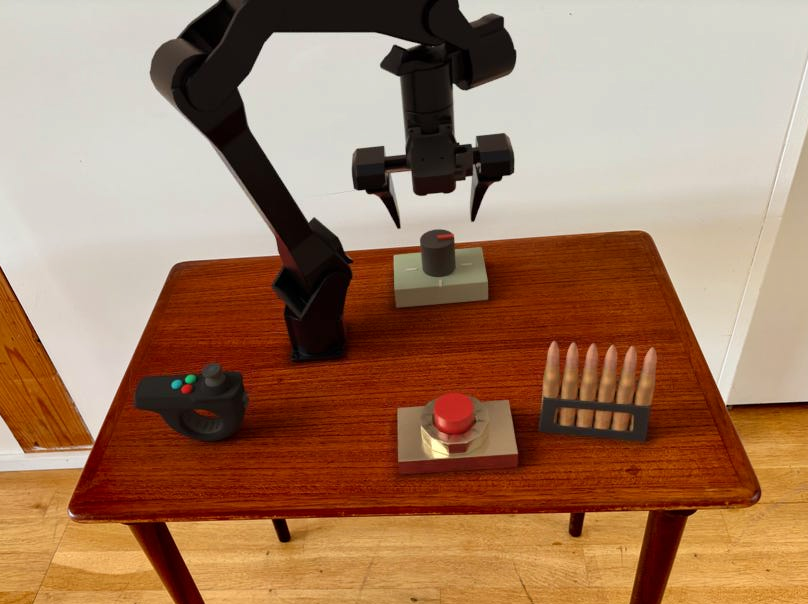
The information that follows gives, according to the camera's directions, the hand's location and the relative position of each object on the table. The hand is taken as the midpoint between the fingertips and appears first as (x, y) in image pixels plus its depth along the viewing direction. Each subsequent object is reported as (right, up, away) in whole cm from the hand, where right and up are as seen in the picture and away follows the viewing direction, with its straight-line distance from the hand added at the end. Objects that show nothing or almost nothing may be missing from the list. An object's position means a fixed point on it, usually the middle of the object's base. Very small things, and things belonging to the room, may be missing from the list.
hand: (435, 223), depth 89 cm
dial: (+1, -5, +5) cm, 7 cm away
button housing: (+1, -26, -14) cm, 30 cm away
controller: (-27, -26, -8) cm, 38 cm away
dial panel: (+1, -7, +7) cm, 10 cm away
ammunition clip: (+15, -25, -15) cm, 32 cm away
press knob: (0, -23, -17) cm, 29 cm away
